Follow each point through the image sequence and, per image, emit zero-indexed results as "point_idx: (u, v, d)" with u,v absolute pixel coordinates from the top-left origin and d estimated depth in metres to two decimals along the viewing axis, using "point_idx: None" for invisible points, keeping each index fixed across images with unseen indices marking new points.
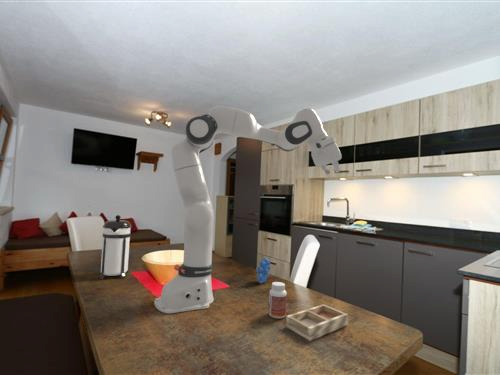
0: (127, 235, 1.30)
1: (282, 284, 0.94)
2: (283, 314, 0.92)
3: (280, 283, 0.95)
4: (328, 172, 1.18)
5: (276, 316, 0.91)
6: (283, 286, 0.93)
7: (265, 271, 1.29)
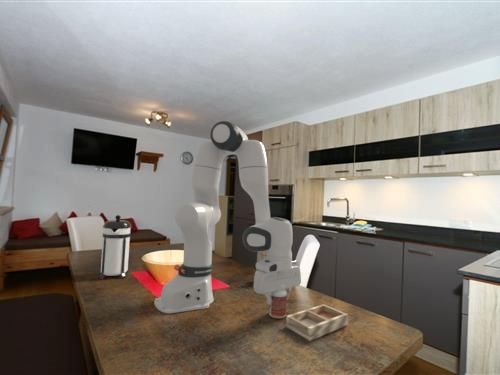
0: (127, 235, 1.30)
1: None
2: (283, 314, 0.92)
3: None
4: None
5: (276, 316, 0.91)
6: (283, 286, 0.93)
7: None
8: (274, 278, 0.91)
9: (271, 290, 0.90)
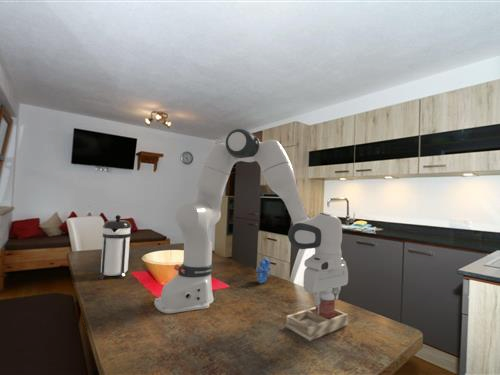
0: (127, 235, 1.30)
1: None
2: None
3: None
4: None
5: None
6: (331, 289, 0.88)
7: (265, 271, 1.29)
8: (324, 277, 0.87)
9: (322, 289, 0.86)
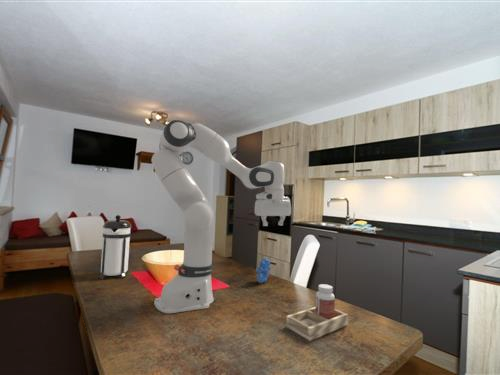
0: (127, 235, 1.30)
1: (330, 287, 0.89)
2: None
3: (327, 286, 0.90)
4: (279, 224, 1.25)
5: None
6: (331, 289, 0.88)
7: (265, 271, 1.29)
8: (270, 206, 1.20)
9: (268, 214, 1.18)
